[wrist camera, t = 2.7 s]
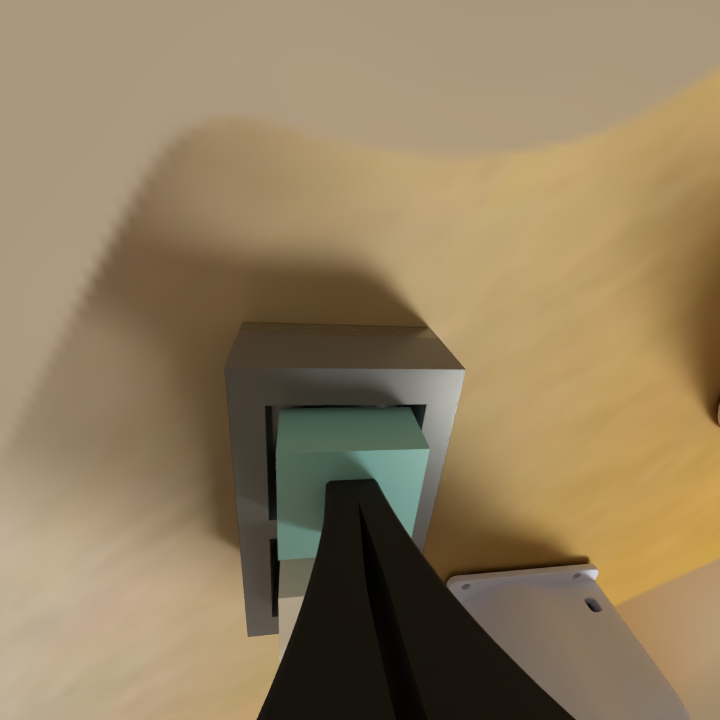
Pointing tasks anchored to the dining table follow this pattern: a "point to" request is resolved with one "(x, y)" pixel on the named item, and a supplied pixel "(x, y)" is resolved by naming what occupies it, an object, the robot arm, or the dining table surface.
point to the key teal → (343, 466)
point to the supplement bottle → (719, 414)
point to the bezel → (324, 387)
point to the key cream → (291, 595)
